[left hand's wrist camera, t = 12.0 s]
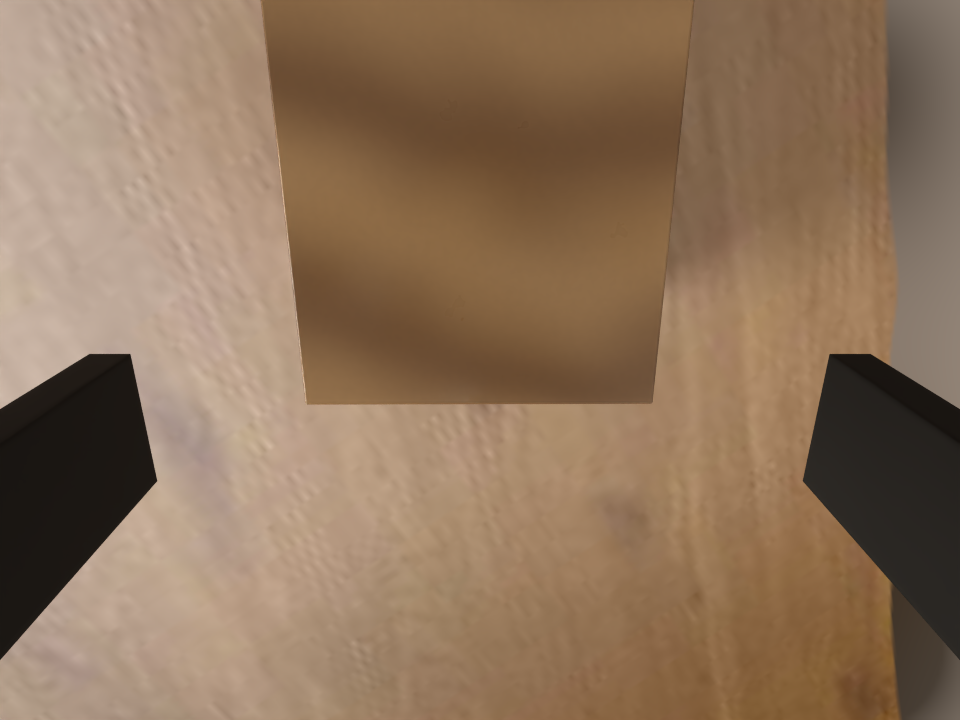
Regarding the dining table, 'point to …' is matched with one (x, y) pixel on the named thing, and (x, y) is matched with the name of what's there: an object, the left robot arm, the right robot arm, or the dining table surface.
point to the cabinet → (478, 194)
